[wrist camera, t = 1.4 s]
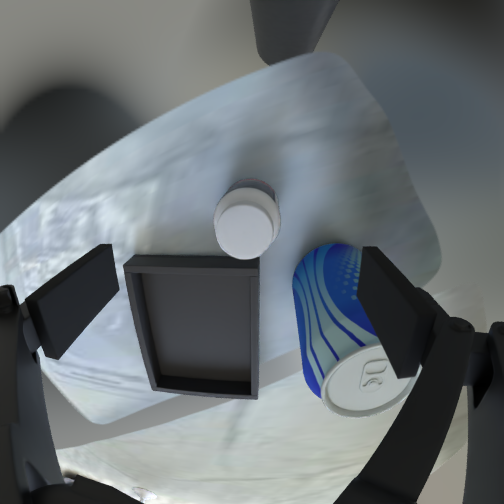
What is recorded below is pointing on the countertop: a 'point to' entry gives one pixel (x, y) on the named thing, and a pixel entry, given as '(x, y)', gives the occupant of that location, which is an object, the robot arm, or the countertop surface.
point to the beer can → (342, 337)
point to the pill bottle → (247, 219)
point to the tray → (197, 323)
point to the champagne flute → (144, 494)
